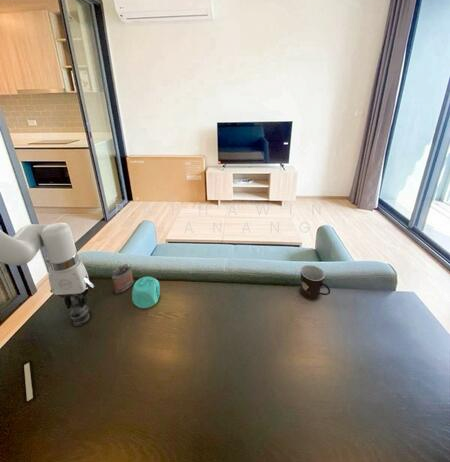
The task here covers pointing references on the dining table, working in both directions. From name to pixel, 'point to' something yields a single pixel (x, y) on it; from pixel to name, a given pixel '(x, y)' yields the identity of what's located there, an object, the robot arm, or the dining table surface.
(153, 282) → the decorative dice
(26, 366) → the beige long thin bar
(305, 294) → the coffee mug
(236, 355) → the dining table surface
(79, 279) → the robot arm
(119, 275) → the lighter
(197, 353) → the dining table surface
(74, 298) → the dark grey chess piece
